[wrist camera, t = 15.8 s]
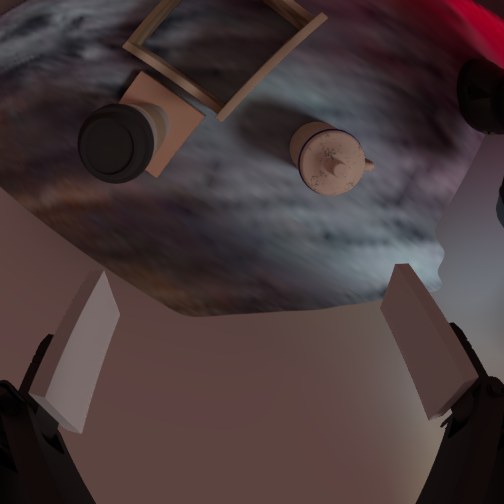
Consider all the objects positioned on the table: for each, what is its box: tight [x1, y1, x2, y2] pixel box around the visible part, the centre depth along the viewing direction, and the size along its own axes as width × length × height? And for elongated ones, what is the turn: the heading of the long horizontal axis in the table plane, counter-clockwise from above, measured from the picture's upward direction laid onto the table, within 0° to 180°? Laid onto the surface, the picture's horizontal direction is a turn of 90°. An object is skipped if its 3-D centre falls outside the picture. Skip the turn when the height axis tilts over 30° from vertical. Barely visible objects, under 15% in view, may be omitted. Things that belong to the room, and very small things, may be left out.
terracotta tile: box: [118, 71, 206, 178], centre depth 39 cm, size 12×12×2 cm
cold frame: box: [123, 0, 328, 122], centre depth 28 cm, size 18×18×10 cm
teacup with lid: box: [290, 122, 374, 196], centre depth 38 cm, size 12×9×12 cm
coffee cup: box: [78, 103, 170, 184], centre depth 32 cm, size 9×9×15 cm
